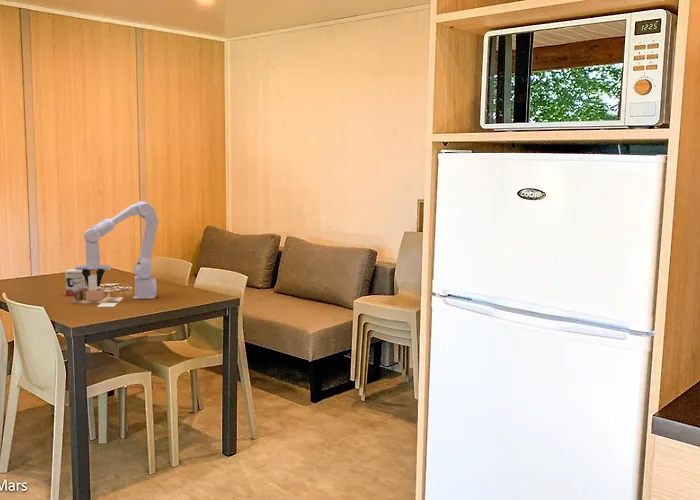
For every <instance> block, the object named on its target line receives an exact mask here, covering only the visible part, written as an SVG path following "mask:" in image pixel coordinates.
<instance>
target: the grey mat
mask: <svg viewBox="0 0 700 500" xmlns="http://www.w3.org/2000/svg"><path fill="white" fill-rule="evenodd" d="M118 304H119V303H98V305H97V306H96V308H115V307H116V305H118Z"/></svg>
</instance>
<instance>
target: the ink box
mask: <svg viewBox="0 0 700 500" xmlns="http://www.w3.org/2000/svg"><path fill="white" fill-rule="evenodd" d="M64 274H65V276H64V277H65V296H66V297H75V295H74V292H75V291H77V290H78V289H82V288H87V289H88V286H87V282H86V280H85V277H84V276H83V274H82V270H78V271H76V268H75V269H74V268H72V269H70V268H69V269H66V270H65V271H64Z"/></svg>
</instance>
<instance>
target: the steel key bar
mask: <svg viewBox="0 0 700 500" xmlns="http://www.w3.org/2000/svg"><path fill="white" fill-rule="evenodd" d="M88 284H89V287H88V290H89V291H99V288H100V286H99V287H98V286H97V274H90V275H89V276H88Z"/></svg>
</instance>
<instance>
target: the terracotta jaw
mask: <svg viewBox="0 0 700 500" xmlns="http://www.w3.org/2000/svg"><path fill="white" fill-rule="evenodd" d="M105 294H106V293H105V288H104V287H102V288H101V287H99V291H89V289H87V291H86V301H100V300H101V299H103V298H104V297H105Z"/></svg>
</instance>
